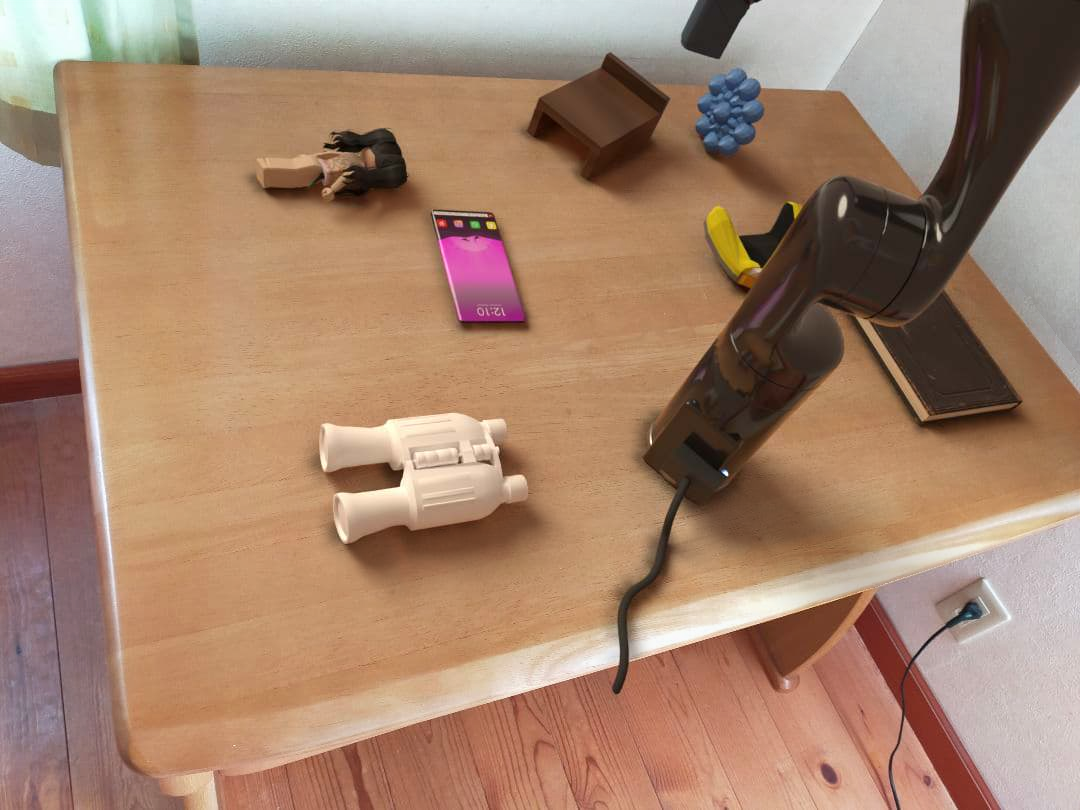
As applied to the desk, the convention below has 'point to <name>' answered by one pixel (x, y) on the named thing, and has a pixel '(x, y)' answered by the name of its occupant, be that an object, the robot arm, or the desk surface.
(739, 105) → the grapes
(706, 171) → the desk surface
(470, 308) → the smartphone
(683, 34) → the vaping device
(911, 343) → the hardcover book
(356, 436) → the binoculars
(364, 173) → the toy figure
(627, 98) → the shelf
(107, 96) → the desk surface
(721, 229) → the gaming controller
